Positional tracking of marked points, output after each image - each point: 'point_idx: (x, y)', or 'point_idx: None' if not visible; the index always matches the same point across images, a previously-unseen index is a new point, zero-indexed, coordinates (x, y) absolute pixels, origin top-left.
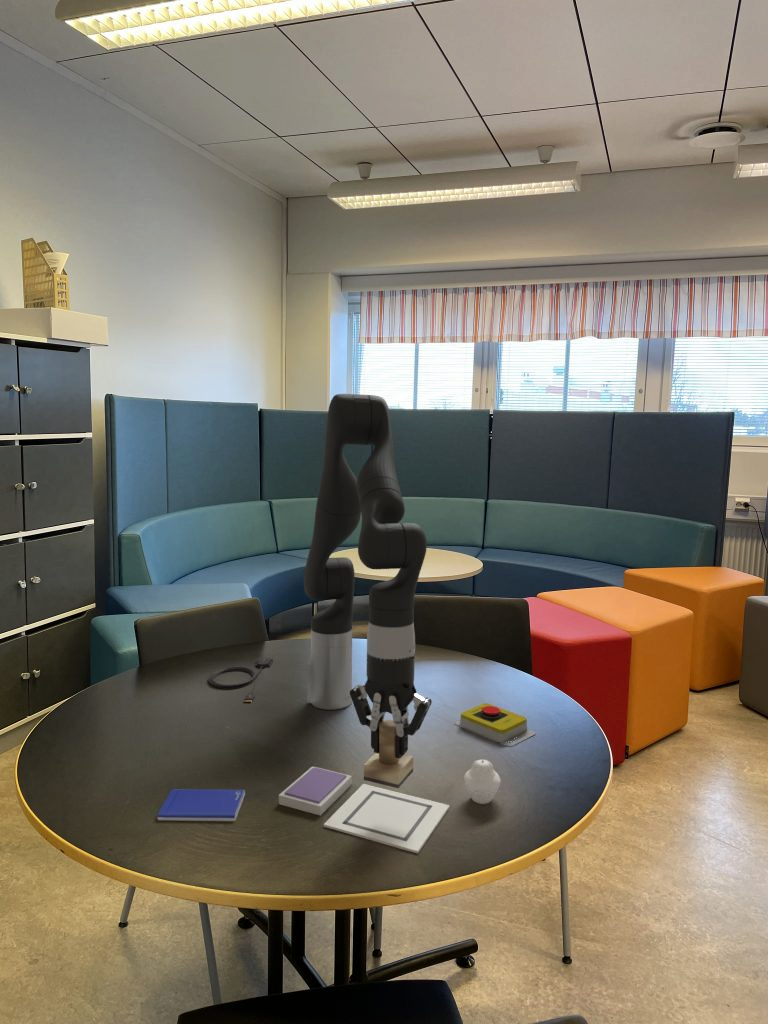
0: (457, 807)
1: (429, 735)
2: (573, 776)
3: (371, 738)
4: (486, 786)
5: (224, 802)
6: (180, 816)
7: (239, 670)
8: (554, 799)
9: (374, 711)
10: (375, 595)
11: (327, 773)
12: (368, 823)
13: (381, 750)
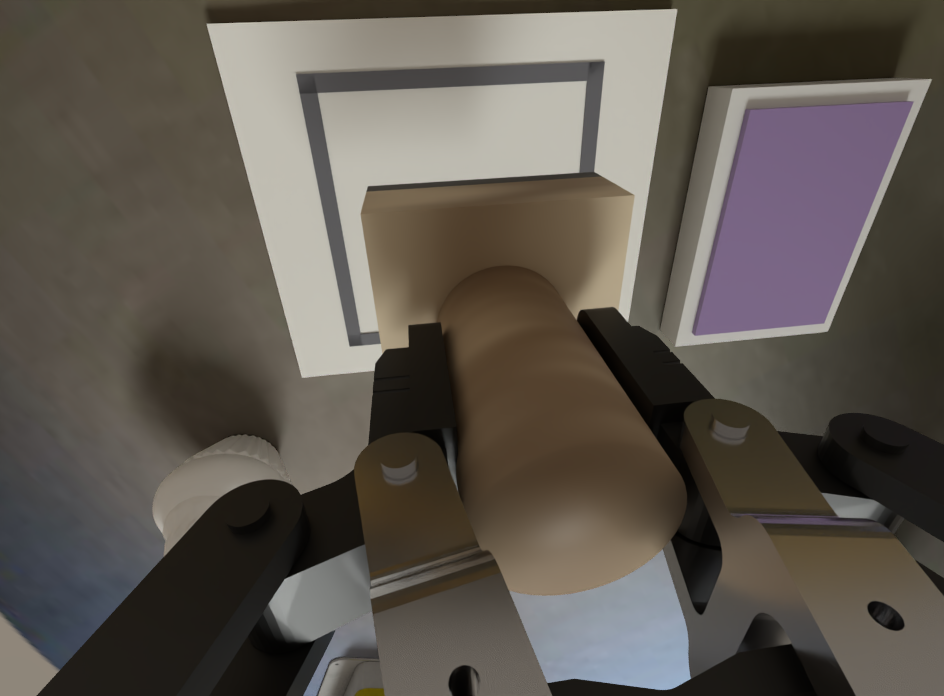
0: (282, 386)
1: (541, 611)
2: None
3: (681, 367)
4: (169, 480)
5: None
6: None
7: None
8: (71, 547)
9: (898, 614)
10: None
11: (765, 312)
12: (503, 121)
13: (553, 309)
